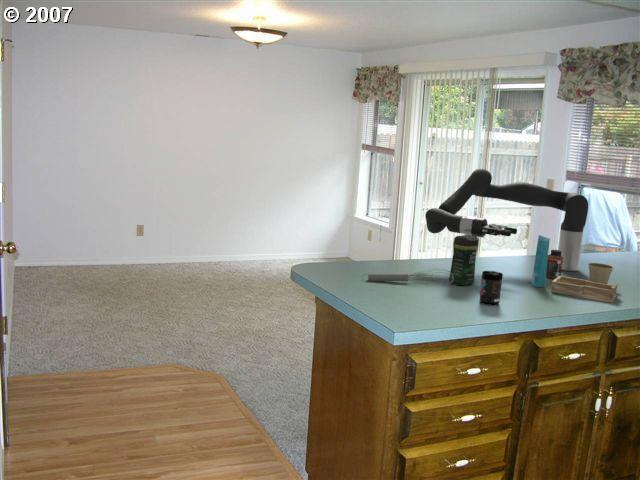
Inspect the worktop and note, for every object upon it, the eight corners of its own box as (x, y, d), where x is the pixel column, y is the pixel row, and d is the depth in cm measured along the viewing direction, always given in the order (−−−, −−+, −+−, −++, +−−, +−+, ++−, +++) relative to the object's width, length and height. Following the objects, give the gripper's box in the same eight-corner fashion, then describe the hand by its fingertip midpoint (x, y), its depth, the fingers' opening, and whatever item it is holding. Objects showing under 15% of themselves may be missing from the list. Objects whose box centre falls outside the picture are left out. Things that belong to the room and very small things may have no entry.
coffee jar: (463, 287, 244) (468, 237, 241) (445, 282, 249) (450, 234, 246) (477, 284, 251) (482, 235, 247) (459, 279, 256) (464, 232, 253)
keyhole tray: (557, 285, 257) (559, 273, 256) (616, 295, 246) (618, 282, 245) (550, 291, 246) (552, 278, 245) (611, 302, 235) (613, 289, 234)
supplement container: (487, 299, 228) (490, 270, 226) (503, 304, 223) (507, 274, 221) (474, 301, 224) (478, 271, 222) (491, 306, 219) (495, 276, 217)
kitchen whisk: (361, 278, 248) (362, 262, 247) (451, 285, 248) (453, 268, 247) (362, 282, 242) (363, 265, 241) (454, 289, 242) (456, 272, 241)
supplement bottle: (561, 279, 268) (565, 252, 266) (546, 278, 269) (549, 250, 267) (559, 276, 274) (562, 249, 272) (544, 275, 275) (547, 248, 273)
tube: (549, 288, 251) (555, 238, 248) (538, 288, 250) (545, 238, 246) (536, 283, 258) (542, 234, 255) (526, 283, 257) (532, 234, 253)
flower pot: (609, 286, 262) (613, 264, 260) (611, 291, 253) (615, 269, 252) (584, 282, 265) (587, 261, 263) (585, 287, 256) (588, 266, 255)
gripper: (477, 234, 271) (517, 240, 263) (466, 237, 259) (507, 244, 251) (480, 215, 270) (519, 221, 262) (468, 218, 258) (510, 224, 250)
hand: (513, 232), depth 256 cm, fingers open, 8 cm apart
